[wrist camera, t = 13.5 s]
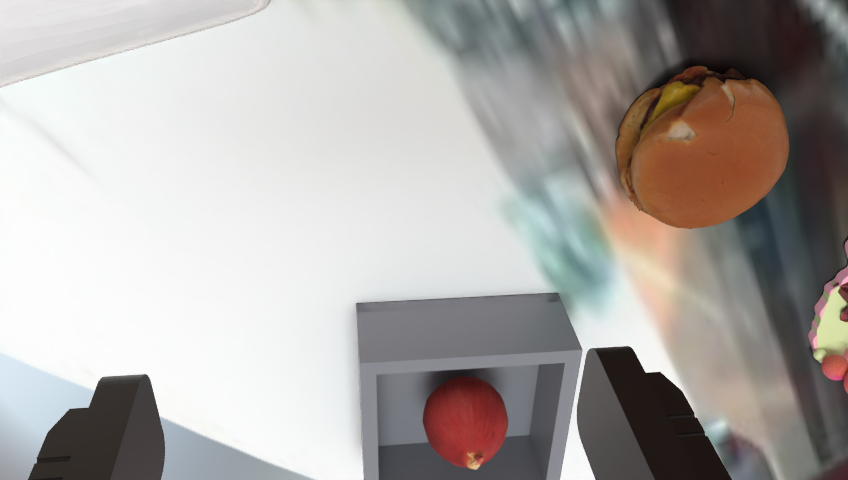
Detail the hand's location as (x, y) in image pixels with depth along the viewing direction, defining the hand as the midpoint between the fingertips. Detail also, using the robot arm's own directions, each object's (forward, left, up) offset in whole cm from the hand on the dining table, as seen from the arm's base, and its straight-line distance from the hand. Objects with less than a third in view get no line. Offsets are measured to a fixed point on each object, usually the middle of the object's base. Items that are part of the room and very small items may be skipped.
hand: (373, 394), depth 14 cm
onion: (-7, +28, -29) cm, 41 cm away
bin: (-7, +28, -30) cm, 42 cm away
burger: (-21, +9, -30) cm, 38 cm away
